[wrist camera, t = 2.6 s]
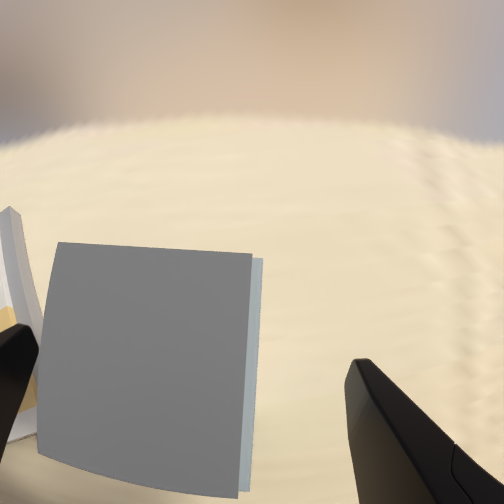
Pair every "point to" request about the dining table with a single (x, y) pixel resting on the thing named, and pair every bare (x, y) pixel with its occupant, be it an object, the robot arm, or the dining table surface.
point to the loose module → (151, 366)
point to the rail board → (19, 309)
